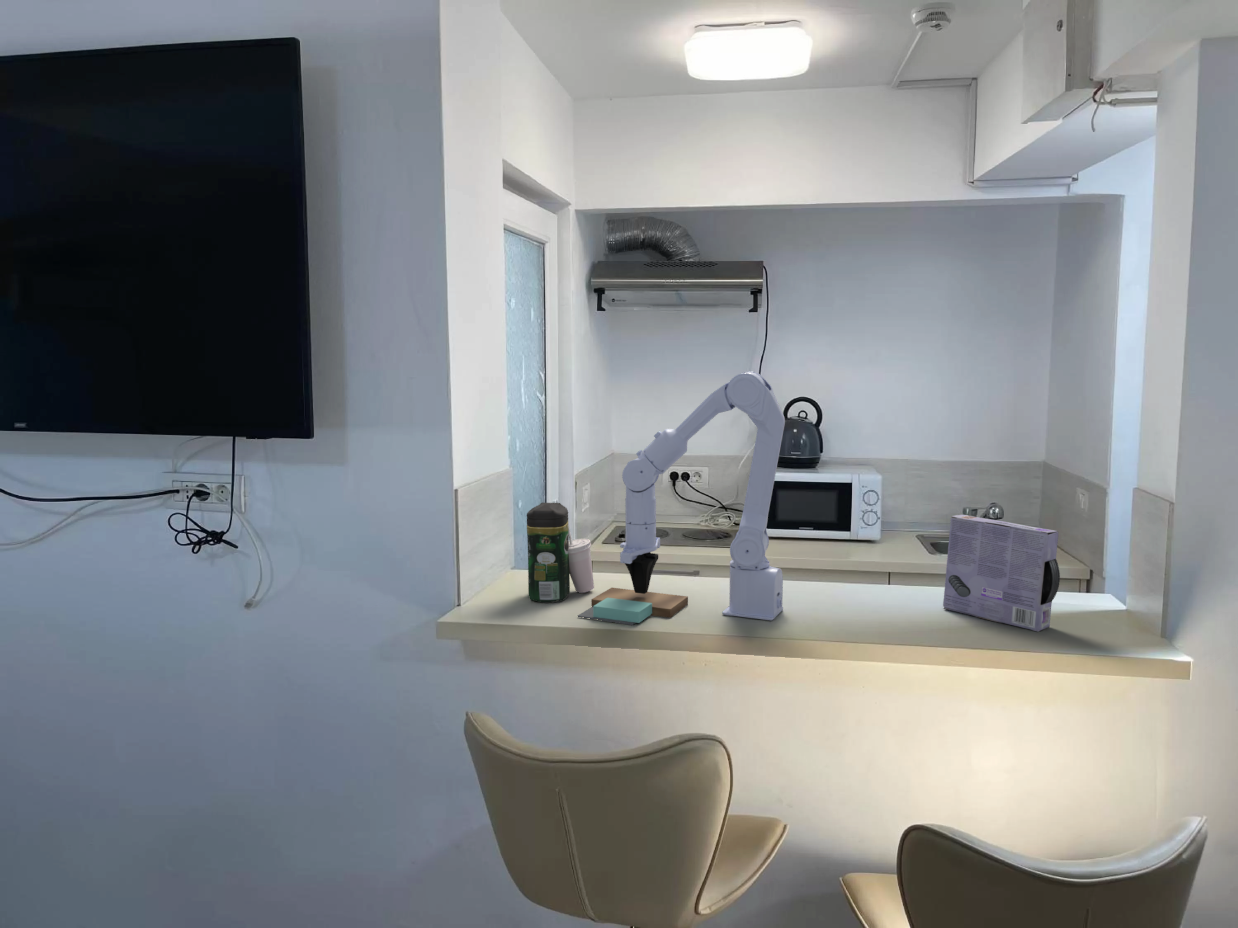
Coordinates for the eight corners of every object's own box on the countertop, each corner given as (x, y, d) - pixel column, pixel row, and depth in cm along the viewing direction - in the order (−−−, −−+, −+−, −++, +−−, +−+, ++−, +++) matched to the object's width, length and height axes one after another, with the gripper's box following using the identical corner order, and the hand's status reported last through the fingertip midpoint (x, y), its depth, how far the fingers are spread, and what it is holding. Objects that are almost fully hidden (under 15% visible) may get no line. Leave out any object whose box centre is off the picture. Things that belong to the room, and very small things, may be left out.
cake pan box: (1058, 628, 160) (1064, 528, 158) (1045, 634, 157) (1051, 532, 155) (955, 604, 175) (959, 512, 172) (941, 609, 171) (945, 516, 169)
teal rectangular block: (652, 613, 169) (652, 602, 168) (639, 622, 163) (639, 611, 163) (607, 607, 172) (607, 597, 172) (593, 616, 167) (593, 606, 167)
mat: (647, 614, 169) (647, 612, 169) (632, 625, 163) (632, 623, 163) (593, 608, 174) (593, 605, 174) (577, 617, 168) (577, 615, 168)
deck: (687, 604, 176) (687, 596, 175) (670, 617, 168) (670, 609, 167) (611, 595, 182) (611, 587, 182) (591, 607, 174) (591, 599, 174)
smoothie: (565, 590, 187) (549, 524, 184) (594, 580, 189) (579, 515, 186) (575, 597, 181) (559, 530, 178) (605, 587, 183) (589, 521, 180)
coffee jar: (533, 590, 187) (532, 499, 184) (572, 590, 186) (571, 500, 183) (524, 603, 177) (522, 508, 175) (565, 604, 176) (563, 509, 174)
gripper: (636, 513, 181) (637, 580, 183) (604, 527, 168) (605, 599, 170) (670, 516, 178) (670, 584, 180) (640, 530, 165) (640, 604, 167)
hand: (641, 592), depth 175 cm, fingers closed
